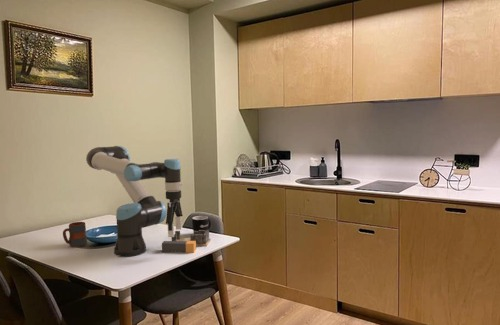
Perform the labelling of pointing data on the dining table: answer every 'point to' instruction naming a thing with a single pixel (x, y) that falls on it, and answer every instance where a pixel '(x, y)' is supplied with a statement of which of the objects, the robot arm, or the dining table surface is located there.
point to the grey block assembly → (194, 237)
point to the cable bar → (179, 246)
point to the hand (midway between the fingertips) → (175, 233)
